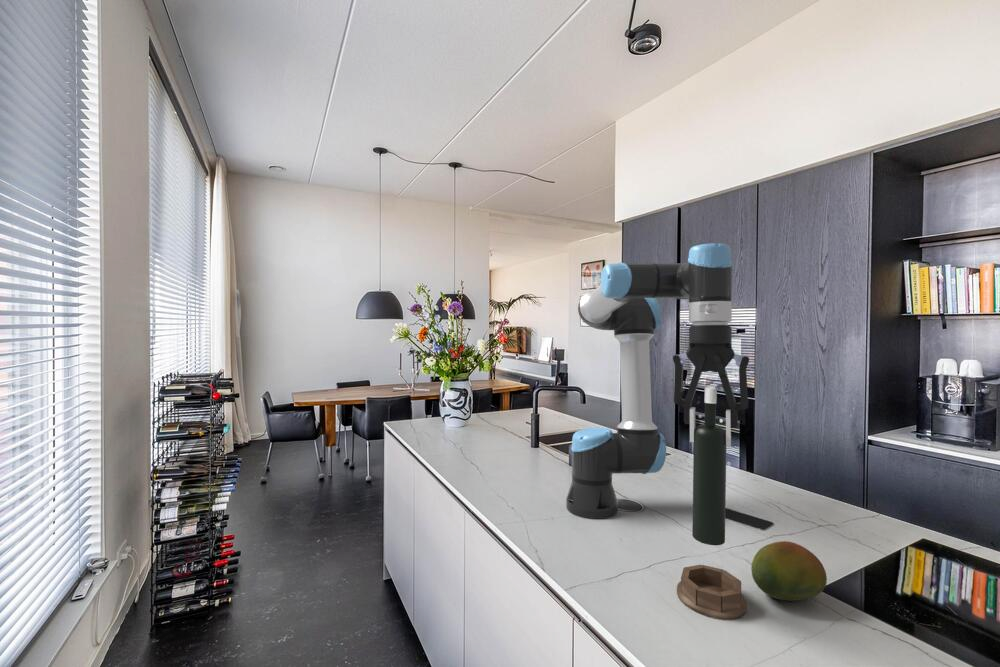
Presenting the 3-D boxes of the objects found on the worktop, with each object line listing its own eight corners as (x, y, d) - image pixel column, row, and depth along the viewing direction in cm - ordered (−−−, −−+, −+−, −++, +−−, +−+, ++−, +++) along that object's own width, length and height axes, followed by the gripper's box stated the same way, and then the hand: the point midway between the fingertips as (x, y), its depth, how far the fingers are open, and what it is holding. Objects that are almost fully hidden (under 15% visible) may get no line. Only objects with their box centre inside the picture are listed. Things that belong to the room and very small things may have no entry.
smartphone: (719, 505, 132) (775, 522, 120) (719, 508, 132) (775, 525, 120) (707, 512, 127) (763, 530, 115) (707, 514, 127) (763, 532, 115)
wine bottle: (710, 547, 82) (712, 388, 82) (685, 534, 88) (688, 384, 87) (731, 542, 85) (734, 386, 84) (706, 529, 90) (709, 383, 90)
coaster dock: (672, 606, 84) (672, 586, 84) (681, 575, 95) (681, 557, 95) (747, 627, 78) (747, 606, 78) (747, 591, 89) (747, 572, 89)
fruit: (834, 600, 86) (834, 549, 86) (806, 625, 79) (806, 569, 78) (770, 573, 95) (770, 527, 95) (740, 593, 88) (740, 543, 88)
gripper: (656, 324, 87) (656, 441, 87) (766, 323, 78) (766, 453, 78) (662, 325, 94) (663, 433, 94) (764, 323, 85) (765, 444, 85)
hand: (710, 442), depth 86 cm, fingers closed on wine bottle, 6 cm apart
